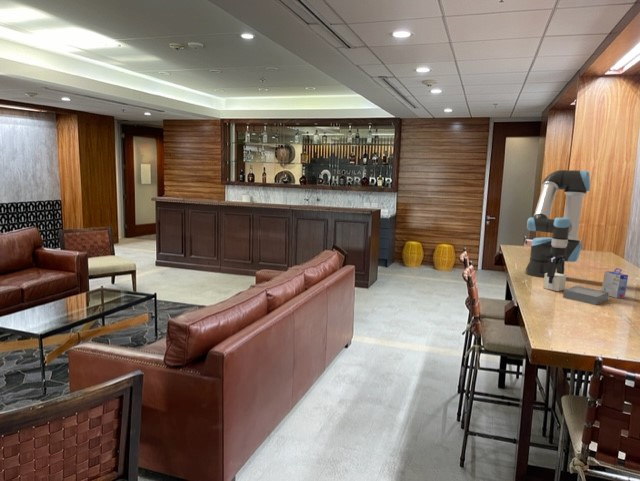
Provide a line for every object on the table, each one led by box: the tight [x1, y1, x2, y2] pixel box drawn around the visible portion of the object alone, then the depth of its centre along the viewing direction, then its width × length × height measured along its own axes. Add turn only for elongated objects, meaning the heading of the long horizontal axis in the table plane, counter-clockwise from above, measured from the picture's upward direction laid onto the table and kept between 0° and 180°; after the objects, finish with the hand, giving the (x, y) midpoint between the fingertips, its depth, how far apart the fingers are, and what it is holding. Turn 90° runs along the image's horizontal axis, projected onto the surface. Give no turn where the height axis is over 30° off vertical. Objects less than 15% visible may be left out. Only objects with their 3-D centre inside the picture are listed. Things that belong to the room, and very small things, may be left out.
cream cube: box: [542, 272, 567, 292], centre depth 246 cm, size 8×8×8 cm
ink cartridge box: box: [600, 267, 629, 299], centre depth 236 cm, size 10×6×14 cm, turn 15°
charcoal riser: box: [562, 285, 609, 306], centre depth 228 cm, size 16×15×4 cm
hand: (553, 287), depth 246 cm, fingers closed on cream cube, 8 cm apart
